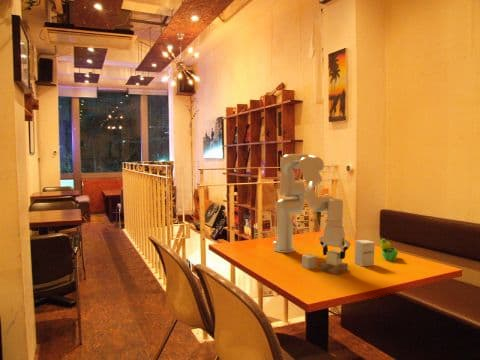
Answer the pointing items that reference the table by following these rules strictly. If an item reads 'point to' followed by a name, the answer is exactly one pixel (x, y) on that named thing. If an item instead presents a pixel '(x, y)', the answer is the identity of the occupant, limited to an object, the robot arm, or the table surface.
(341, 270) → the walnut base
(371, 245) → the supplement box
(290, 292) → the table surface
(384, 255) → the fruit basket
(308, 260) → the grey block
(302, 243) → the table surface
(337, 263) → the beige block
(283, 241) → the robot arm
